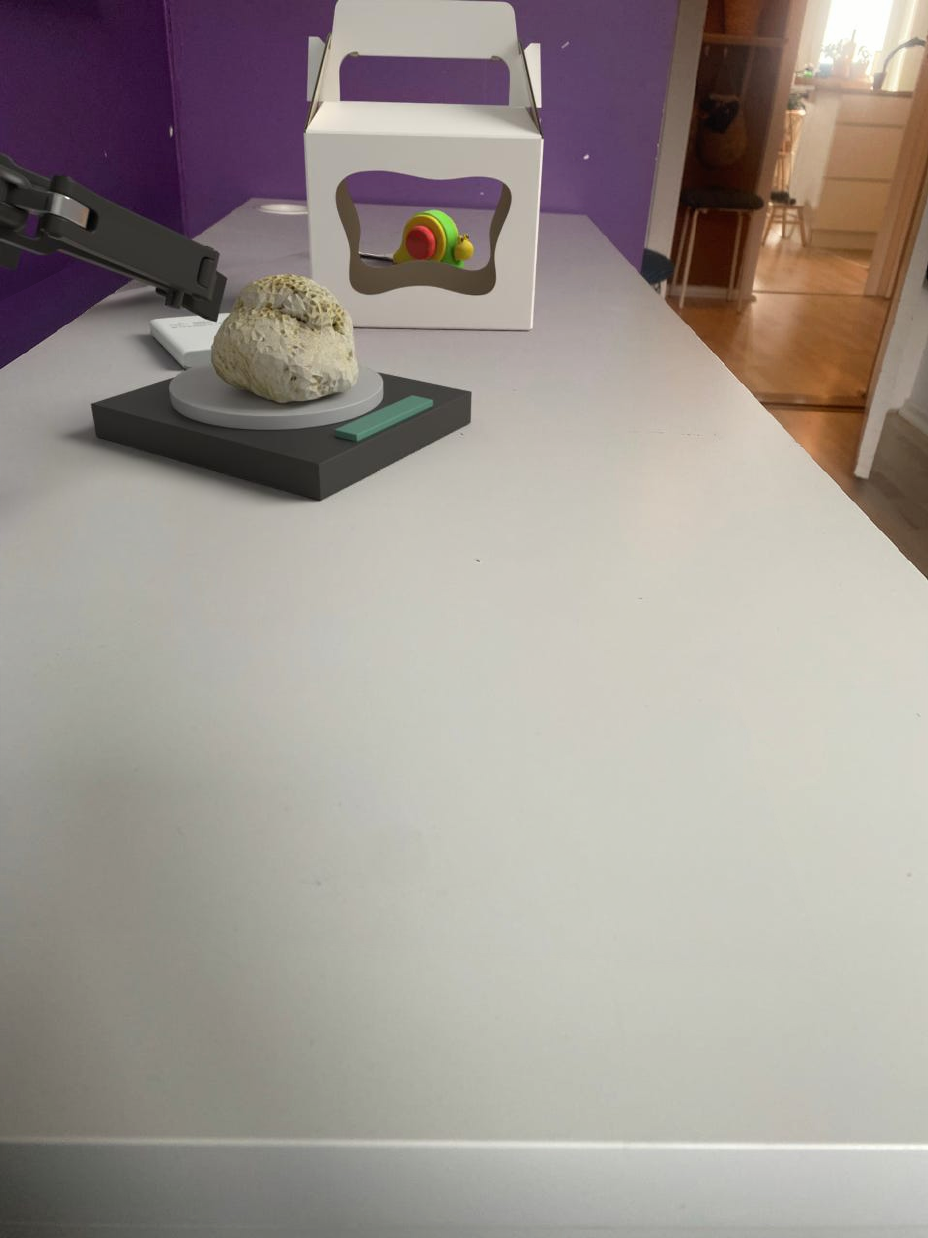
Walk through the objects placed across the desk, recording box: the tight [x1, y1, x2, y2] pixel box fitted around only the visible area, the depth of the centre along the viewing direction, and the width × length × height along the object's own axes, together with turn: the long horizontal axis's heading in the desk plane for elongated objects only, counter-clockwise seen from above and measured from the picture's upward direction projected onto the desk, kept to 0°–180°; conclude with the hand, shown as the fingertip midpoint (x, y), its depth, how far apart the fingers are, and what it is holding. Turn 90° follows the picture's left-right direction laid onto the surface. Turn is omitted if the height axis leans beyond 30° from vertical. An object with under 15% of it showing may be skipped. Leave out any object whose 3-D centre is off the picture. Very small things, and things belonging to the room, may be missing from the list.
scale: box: [90, 362, 473, 502], centre depth 72 cm, size 20×18×3 cm
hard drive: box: [149, 312, 231, 370], centre depth 91 cm, size 2×8×12 cm
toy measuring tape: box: [359, 209, 475, 269], centre depth 127 cm, size 6×20×7 cm, turn 59°
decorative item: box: [211, 273, 358, 404], centre depth 69 cm, size 12×9×10 cm
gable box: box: [303, 0, 545, 331], centre depth 98 cm, size 22×13×28 cm, turn 92°
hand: (115, 272), depth 61 cm, fingers open, 13 cm apart
